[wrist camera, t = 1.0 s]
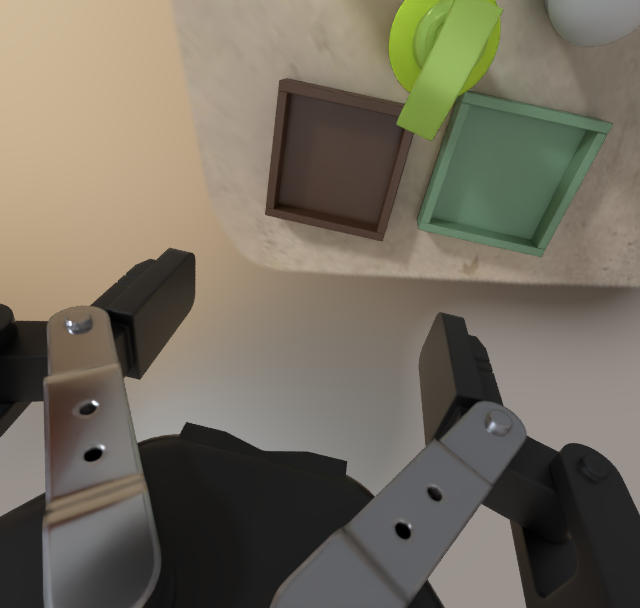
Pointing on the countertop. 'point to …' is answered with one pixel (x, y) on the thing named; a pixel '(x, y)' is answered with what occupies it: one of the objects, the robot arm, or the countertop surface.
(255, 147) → the countertop surface
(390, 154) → the walnut tray
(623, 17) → the lightbulb
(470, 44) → the soap dispenser
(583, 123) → the green tray
